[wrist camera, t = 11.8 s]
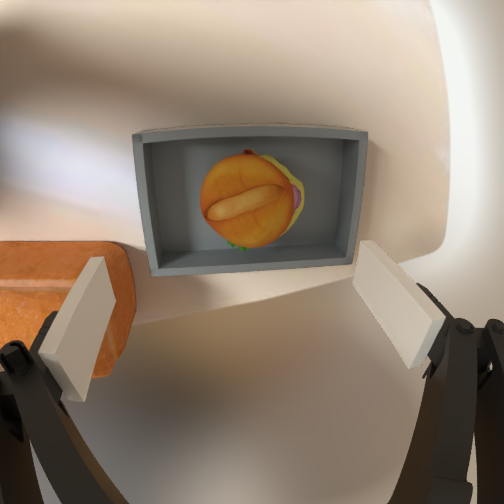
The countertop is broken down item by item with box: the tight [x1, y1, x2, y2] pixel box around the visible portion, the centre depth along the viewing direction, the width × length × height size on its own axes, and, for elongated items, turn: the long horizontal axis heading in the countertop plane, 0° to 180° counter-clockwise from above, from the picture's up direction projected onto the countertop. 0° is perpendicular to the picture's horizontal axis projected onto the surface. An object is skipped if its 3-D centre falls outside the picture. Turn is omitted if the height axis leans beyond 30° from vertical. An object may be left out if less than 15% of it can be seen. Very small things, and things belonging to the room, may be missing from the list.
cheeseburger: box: [200, 149, 304, 251], centre depth 31 cm, size 10×11×10 cm
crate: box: [132, 123, 368, 277], centre depth 33 cm, size 24×16×5 cm, turn 90°
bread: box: [0, 241, 136, 379], centre depth 30 cm, size 14×26×16 cm, turn 86°
